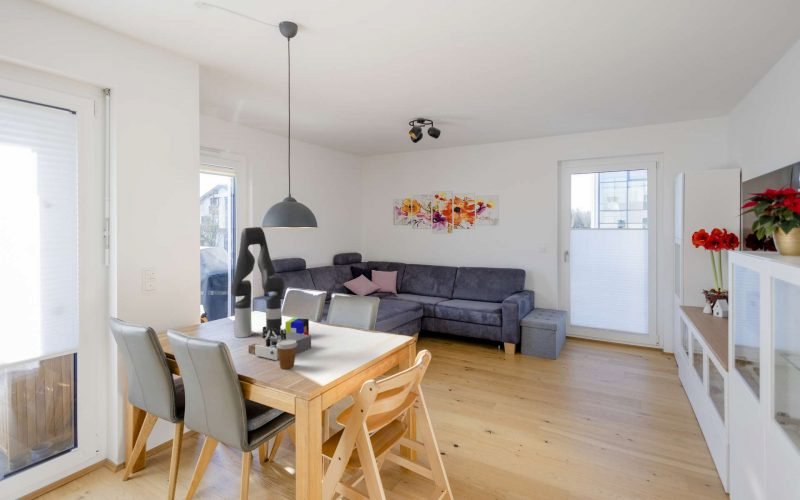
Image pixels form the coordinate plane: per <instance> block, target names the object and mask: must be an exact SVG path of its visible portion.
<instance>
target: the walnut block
mask: <svg viewBox="0 0 800 500" xmlns="http://www.w3.org/2000/svg"><path fill="white" fill-rule="evenodd" d="M255 345H260V343H252V344H249V345H248V346H247V347H248V354H251V355H255Z"/></svg>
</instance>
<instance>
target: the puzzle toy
mask: <svg viewBox="0 0 800 500" xmlns="http://www.w3.org/2000/svg"><path fill="white" fill-rule="evenodd" d="M309 321H310V318H302V317H301V318H298V317H292V318H291V319H288V320H287V321H285V330H286V333H287V332H293V333H299V334H305V335H310V326H309V325H310V322H309Z"/></svg>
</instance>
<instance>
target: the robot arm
mask: <svg viewBox="0 0 800 500" xmlns="http://www.w3.org/2000/svg"><path fill="white" fill-rule="evenodd" d="M255 245H259V248H260V250H259V255H258V256H257V257H258V258H257V261H255V260H256V258H255V257H254V254H253V253H252V252H251V251H250V249H249V246H255ZM238 252H239V253H238V257H237V260H236V265H235V266H236V267H235V272H234V277H233V280H232V283H231V286H230V293H231V295H232V297H236V298H237V297H238V298H239V297H242V298H241V299H240V300H238V301H237V302H235V303H234V320H233V335H234V337H235V338H247V337H252V333H253V332H252V331H253V330H252V283H251V281H250V280H249V279H248V280H247V279H245V278H247V277H248V276H249V275H250V274H251V273H252V272H253V270H254V267H255V263H256V262H257V267H258V269H259V272H260V276H261V286H262V290H263V291H264V292H266V293H272V292H273V294H272V295H270V296H267V297H266V299H265V300H266V302H265V303H266V310H265V323H266V324H265V326H263V327H262V339H264V341H265V347H270V346H271V341H270V338H271V337H275V338H276V339H277V340H278V341H281V340H286V328H284V329H282V328H281V327H282V325H283V323H282V322H283V319H282V318H283V317H282V298H283V292H284V288H285V282H284V280H283V278H282V277H280V276H275V277H272V276H274V275H275V274H276V269H275V265H274V264H273V261H272V258H271V256H270V252H269V247H268V242H267V239H266V235H265V232H264V229H263V228H262V227H260V226H255V227H245V228H243V229H242V231H241V235H240V243H239V251H238ZM283 337H284V339H283ZM280 339H281V340H280Z"/></svg>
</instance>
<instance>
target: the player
mask: <svg viewBox="0 0 800 500" xmlns="http://www.w3.org/2000/svg"><path fill="white" fill-rule="evenodd" d="M283 339H284V337H283ZM286 339H292V340H296V343H297V346H296V353H295V356H296V355H299V354H301V353H304V352H306V351H308V350H311V349H312V335H310V334H309V335H305V334H299V333H293V332H287V333H286ZM280 340H281V339H280ZM277 342H278V340H277V339H276V338H275V337H273V336H272V337H271V338H270V345H271V346H272V345H275V344H277Z"/></svg>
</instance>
